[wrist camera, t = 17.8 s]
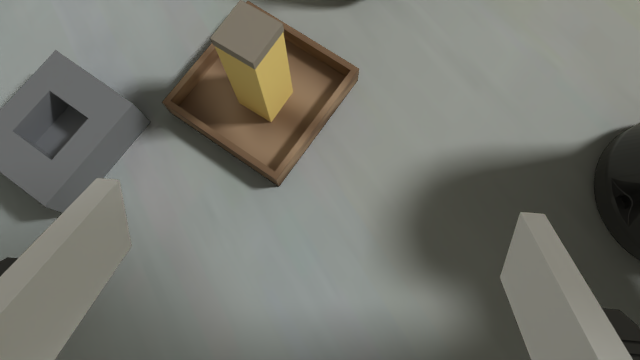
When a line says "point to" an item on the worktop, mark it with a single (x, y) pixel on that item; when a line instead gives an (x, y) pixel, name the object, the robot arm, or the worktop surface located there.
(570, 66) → the worktop surface
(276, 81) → the plug
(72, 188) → the grey block with hole
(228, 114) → the tray
